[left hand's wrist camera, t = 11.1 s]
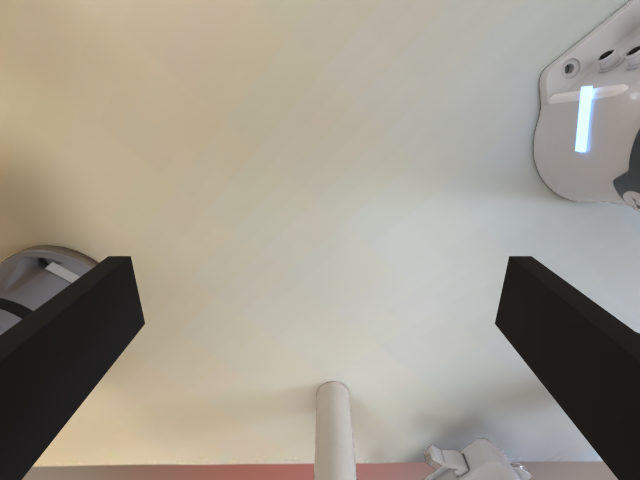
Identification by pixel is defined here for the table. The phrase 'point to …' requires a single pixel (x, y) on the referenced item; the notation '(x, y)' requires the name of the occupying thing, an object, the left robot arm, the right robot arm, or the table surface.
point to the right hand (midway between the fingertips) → (402, 473)
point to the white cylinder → (334, 434)
